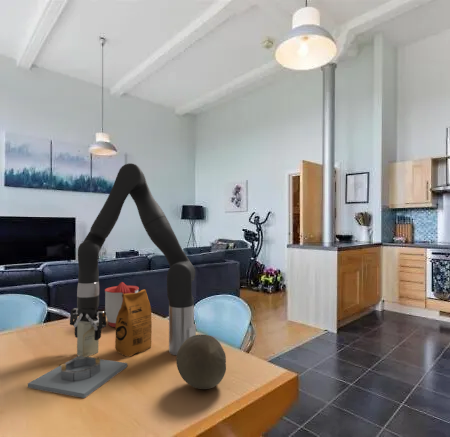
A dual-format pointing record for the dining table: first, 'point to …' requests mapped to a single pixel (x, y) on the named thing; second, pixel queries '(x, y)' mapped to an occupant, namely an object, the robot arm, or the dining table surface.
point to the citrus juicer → (116, 300)
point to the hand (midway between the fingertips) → (87, 338)
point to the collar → (81, 374)
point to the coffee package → (133, 324)
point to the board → (77, 388)
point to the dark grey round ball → (201, 361)
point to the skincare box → (86, 339)
